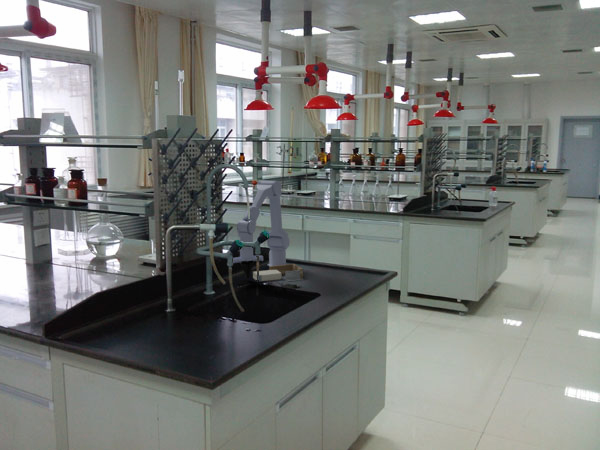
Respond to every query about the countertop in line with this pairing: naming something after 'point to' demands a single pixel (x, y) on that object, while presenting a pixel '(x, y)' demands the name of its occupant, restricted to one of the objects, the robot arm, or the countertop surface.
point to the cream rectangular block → (267, 275)
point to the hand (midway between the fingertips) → (247, 277)
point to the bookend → (293, 275)
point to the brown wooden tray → (287, 268)
